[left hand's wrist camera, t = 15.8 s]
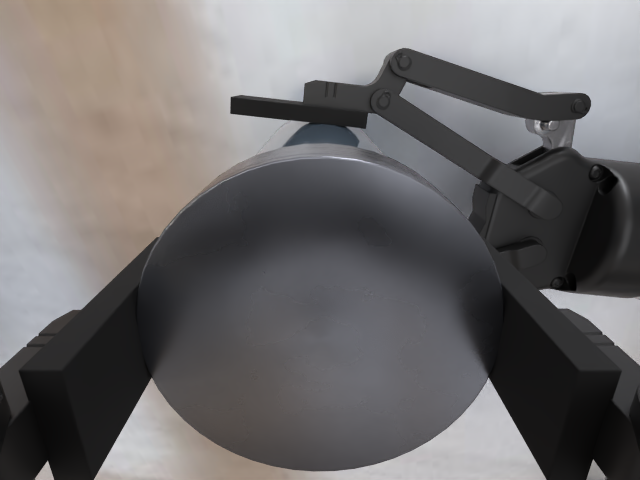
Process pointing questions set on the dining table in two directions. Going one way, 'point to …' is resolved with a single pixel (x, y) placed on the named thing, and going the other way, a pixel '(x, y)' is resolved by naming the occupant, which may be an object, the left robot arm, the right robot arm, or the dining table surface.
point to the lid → (320, 309)
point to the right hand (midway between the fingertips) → (233, 190)
